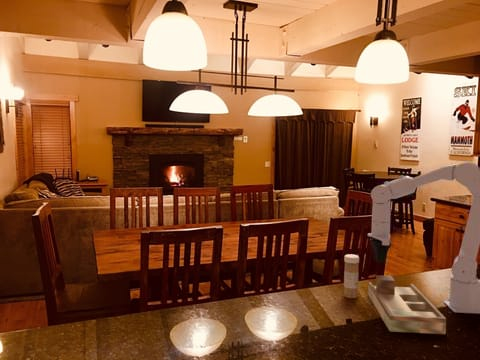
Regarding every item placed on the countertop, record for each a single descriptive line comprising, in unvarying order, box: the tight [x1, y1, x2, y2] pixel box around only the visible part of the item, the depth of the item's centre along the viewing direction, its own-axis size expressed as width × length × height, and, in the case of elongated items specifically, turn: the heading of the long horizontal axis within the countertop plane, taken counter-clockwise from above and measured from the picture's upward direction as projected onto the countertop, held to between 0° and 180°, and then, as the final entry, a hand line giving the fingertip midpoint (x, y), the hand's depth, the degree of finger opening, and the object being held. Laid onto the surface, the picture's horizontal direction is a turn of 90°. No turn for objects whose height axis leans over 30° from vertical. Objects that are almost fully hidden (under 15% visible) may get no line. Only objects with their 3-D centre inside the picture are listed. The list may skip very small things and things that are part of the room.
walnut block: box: [375, 274, 396, 295], centre depth 123 cm, size 4×4×4 cm
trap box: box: [367, 281, 447, 335], centre depth 116 cm, size 14×26×4 cm, turn 174°
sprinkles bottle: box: [343, 253, 360, 299], centre depth 127 cm, size 5×5×13 cm
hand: (379, 261), depth 131 cm, fingers closed
